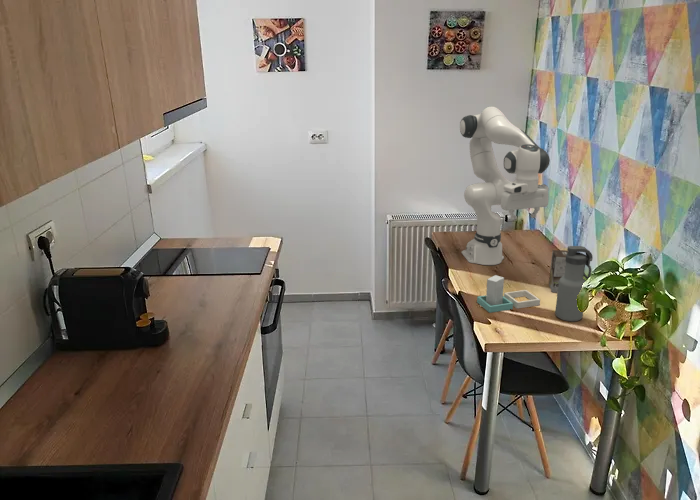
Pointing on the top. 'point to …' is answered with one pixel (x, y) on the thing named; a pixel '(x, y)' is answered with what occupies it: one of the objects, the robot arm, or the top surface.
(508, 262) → the top surface
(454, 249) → the top surface
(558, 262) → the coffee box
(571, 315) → the water bottle
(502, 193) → the robot arm
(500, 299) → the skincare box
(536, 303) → the shallow square trays
